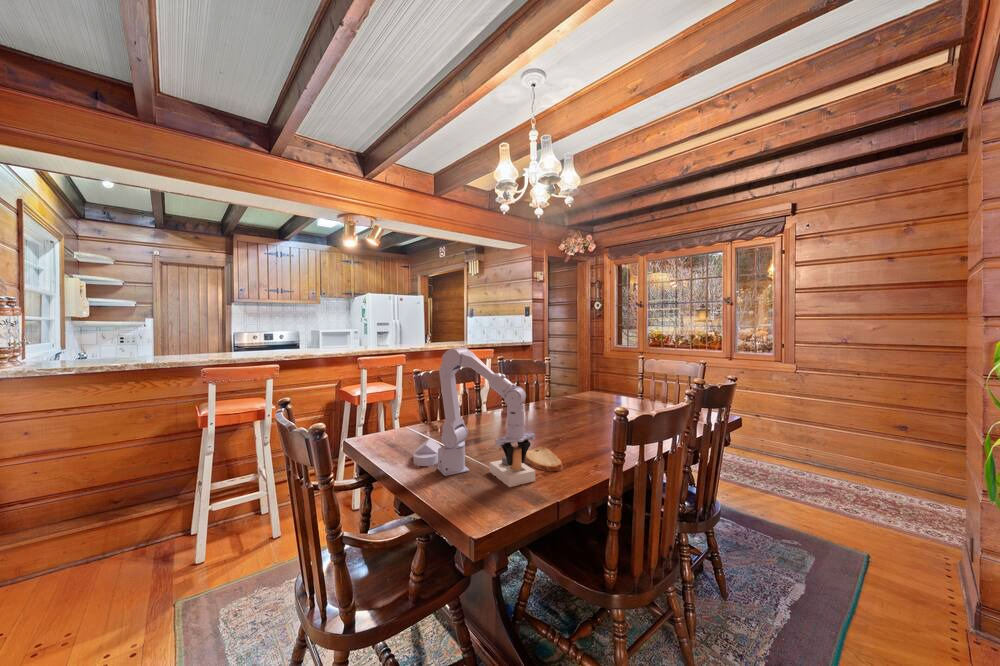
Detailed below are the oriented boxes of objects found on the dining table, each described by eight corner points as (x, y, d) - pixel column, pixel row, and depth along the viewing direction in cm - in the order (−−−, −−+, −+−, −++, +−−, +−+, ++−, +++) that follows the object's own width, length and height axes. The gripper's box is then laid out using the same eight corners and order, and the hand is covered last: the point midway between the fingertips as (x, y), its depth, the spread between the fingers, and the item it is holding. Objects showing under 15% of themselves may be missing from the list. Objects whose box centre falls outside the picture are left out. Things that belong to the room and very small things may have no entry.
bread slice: (561, 473, 136) (561, 463, 136) (513, 467, 142) (513, 457, 142) (571, 456, 153) (571, 447, 153) (527, 451, 159) (527, 442, 159)
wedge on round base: (419, 454, 155) (410, 466, 142) (418, 437, 155) (410, 448, 142) (441, 454, 155) (435, 466, 142) (441, 437, 155) (435, 448, 142)
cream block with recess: (509, 487, 125) (509, 470, 124) (489, 472, 137) (489, 456, 137) (535, 481, 129) (535, 464, 129) (514, 466, 142) (514, 452, 141)
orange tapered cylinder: (513, 471, 128) (513, 450, 128) (507, 467, 131) (507, 446, 131) (524, 469, 130) (524, 448, 130) (517, 464, 133) (517, 445, 133)
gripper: (502, 429, 123) (502, 471, 124) (540, 423, 130) (540, 463, 131) (492, 424, 129) (492, 464, 130) (528, 418, 136) (528, 456, 137)
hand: (515, 463), depth 131 cm, fingers closed on orange tapered cylinder, 4 cm apart
